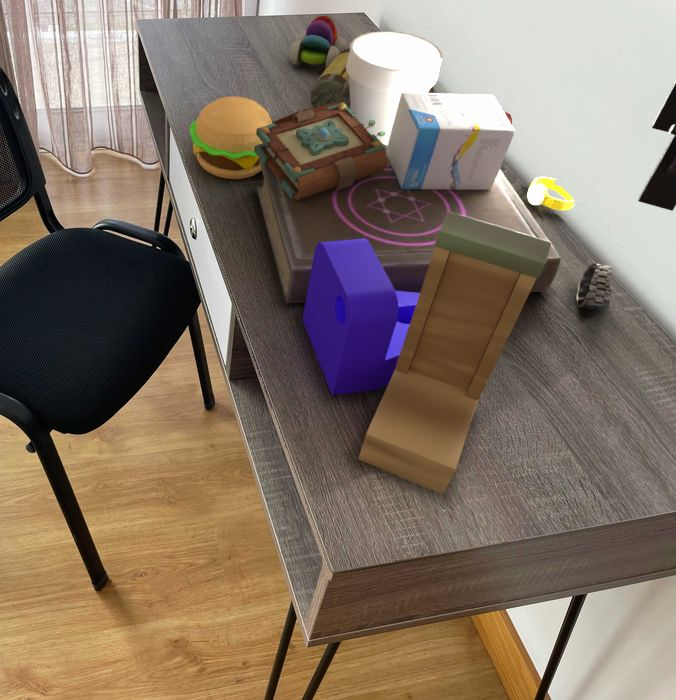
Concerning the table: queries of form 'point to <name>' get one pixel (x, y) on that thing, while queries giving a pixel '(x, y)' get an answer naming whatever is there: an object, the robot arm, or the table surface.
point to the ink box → (448, 141)
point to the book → (384, 225)
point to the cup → (388, 75)
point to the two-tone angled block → (452, 348)
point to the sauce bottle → (333, 83)
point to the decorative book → (320, 151)
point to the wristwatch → (595, 287)
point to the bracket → (355, 316)
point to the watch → (540, 195)
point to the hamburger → (229, 137)
